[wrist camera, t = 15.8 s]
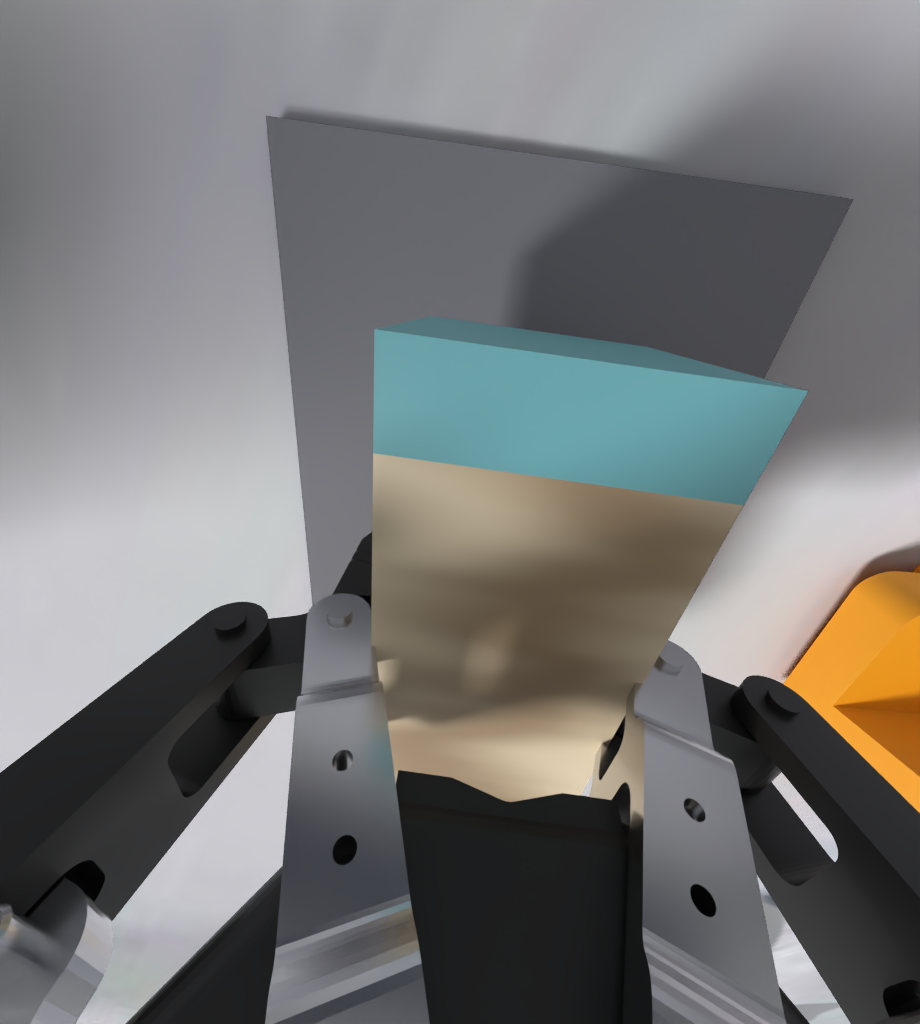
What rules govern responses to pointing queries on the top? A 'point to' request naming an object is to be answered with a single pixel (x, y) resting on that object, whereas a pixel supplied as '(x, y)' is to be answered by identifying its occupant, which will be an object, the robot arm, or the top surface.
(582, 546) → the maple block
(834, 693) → the bracket
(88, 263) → the top surface
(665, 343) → the rubber mat
